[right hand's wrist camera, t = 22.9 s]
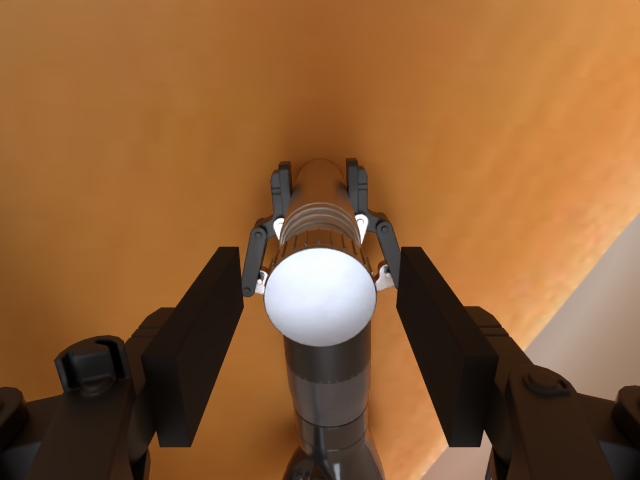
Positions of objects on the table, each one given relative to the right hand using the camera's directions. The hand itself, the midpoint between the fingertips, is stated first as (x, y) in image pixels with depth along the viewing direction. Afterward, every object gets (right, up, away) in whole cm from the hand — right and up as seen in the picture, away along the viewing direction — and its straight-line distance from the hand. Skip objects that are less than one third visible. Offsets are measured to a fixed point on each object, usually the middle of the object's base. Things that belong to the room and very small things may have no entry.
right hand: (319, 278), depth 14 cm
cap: (0, 0, -1) cm, 1 cm away
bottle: (0, +7, +19) cm, 20 cm away
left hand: (0, +7, +11) cm, 14 cm away
